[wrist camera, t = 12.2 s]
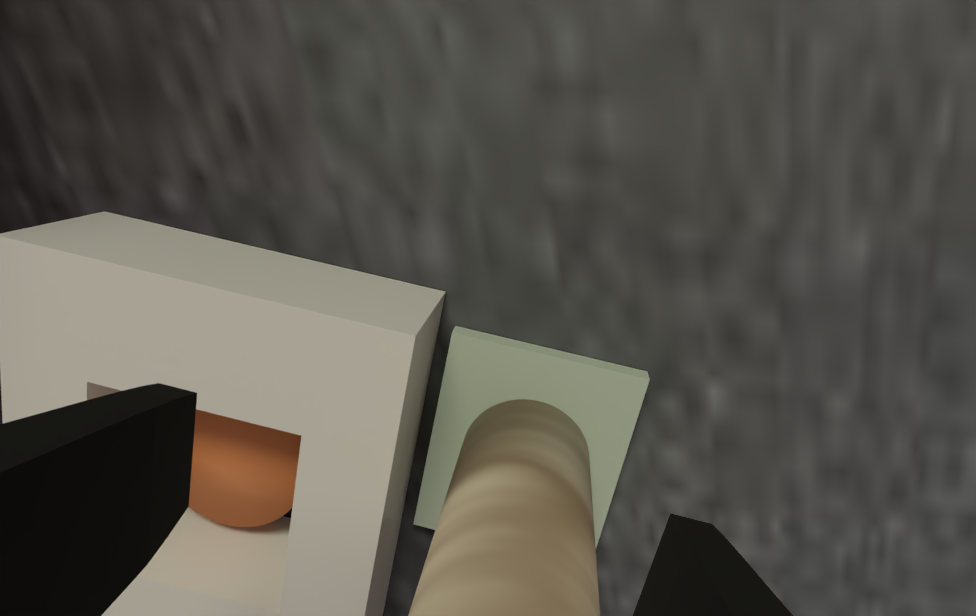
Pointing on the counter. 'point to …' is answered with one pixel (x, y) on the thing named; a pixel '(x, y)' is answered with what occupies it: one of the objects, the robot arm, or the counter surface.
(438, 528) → the beige cylinder
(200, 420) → the button
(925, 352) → the counter surface
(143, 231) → the block
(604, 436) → the plate
